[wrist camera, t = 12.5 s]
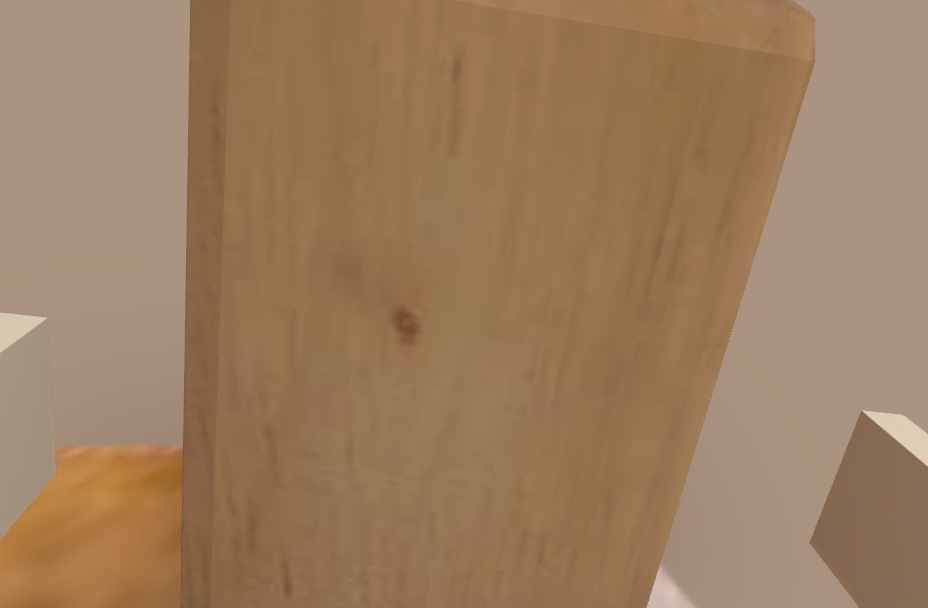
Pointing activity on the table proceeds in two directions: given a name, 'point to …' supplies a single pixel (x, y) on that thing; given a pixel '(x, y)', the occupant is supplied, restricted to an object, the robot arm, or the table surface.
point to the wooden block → (464, 288)
